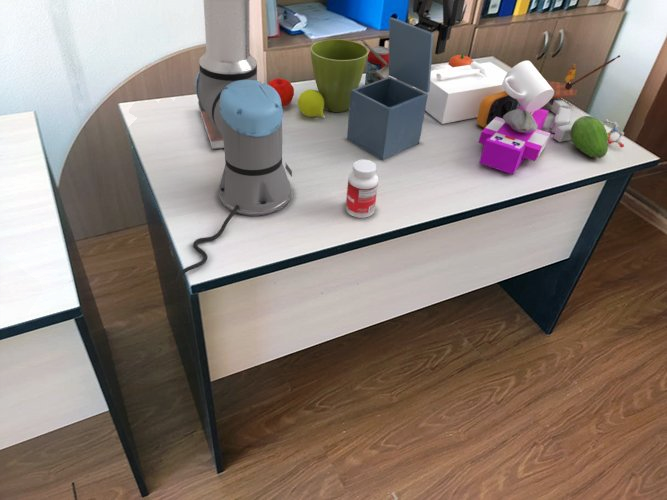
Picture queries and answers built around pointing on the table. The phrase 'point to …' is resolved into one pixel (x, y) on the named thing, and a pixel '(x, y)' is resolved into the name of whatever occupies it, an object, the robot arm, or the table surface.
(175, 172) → the table surface
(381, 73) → the wall hook
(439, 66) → the geometric ball
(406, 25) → the lid
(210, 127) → the picture frame
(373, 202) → the pill bottle
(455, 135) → the table surface
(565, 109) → the grey segmented bar
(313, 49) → the flower pot
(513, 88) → the mug
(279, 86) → the apple
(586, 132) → the avocado
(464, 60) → the pumpkin
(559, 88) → the incense holder
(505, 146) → the toy
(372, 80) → the beverage can
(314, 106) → the yellow-green teardrop shape
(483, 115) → the multimeter
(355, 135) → the blue-grey hollow box
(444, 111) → the tissue box
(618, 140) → the molecular model
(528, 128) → the grey rock
